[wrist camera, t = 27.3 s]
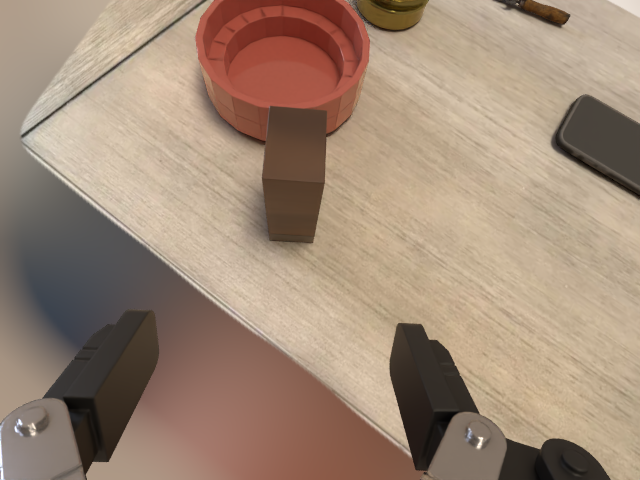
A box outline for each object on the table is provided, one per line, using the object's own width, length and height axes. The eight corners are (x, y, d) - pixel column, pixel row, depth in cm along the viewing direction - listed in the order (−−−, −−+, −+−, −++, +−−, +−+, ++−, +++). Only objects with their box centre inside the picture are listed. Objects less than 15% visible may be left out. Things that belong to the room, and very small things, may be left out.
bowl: (252, 172, 32) (246, 137, 28) (182, 56, 36) (167, 8, 31) (387, 109, 36) (402, 69, 31) (311, 10, 39) (314, -40, 35)
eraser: (313, 243, 31) (324, 183, 21) (269, 240, 30) (261, 178, 21) (315, 187, 32) (327, 110, 23) (274, 185, 32) (269, 105, 23)
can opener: (565, 21, 42) (572, 12, 41) (558, 34, 41) (566, 25, 40) (491, -14, 43) (496, -24, 42) (483, -2, 42) (488, -12, 41)
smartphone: (709, 230, 33) (556, 139, 35) (697, 234, 34) (549, 145, 36) (726, 171, 35) (583, 88, 37) (715, 176, 36) (576, 95, 38)
